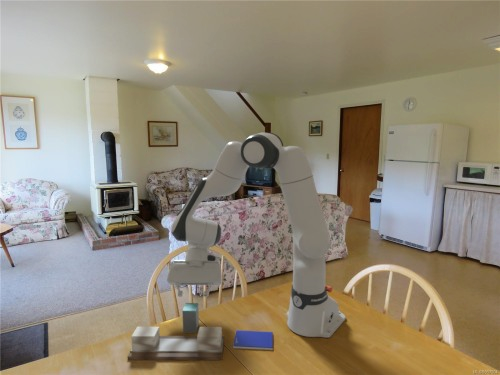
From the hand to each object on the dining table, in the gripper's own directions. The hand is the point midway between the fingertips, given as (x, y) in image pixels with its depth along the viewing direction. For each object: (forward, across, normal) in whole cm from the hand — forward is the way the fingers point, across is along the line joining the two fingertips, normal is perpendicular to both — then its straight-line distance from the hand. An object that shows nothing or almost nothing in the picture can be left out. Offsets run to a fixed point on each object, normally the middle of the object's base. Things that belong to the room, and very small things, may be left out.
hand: (193, 296), depth 114 cm
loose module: (+10, 0, +3) cm, 10 cm away
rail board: (+18, -2, -5) cm, 19 cm away
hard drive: (+15, +22, -2) cm, 27 cm away
